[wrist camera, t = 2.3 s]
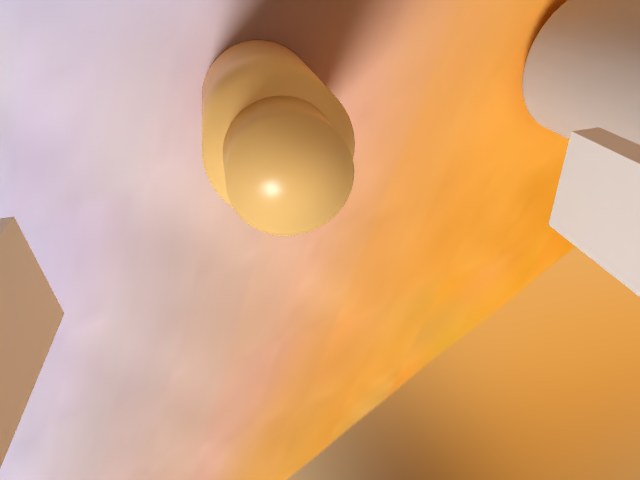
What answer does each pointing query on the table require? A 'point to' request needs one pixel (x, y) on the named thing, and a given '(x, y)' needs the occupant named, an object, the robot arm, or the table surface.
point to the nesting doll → (275, 139)
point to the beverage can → (587, 69)
